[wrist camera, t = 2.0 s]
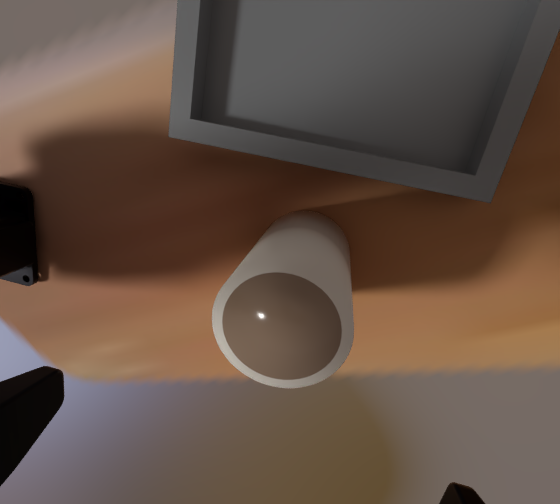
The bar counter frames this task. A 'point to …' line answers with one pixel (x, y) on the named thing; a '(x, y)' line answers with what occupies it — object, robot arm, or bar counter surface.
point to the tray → (364, 84)
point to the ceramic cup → (289, 304)
